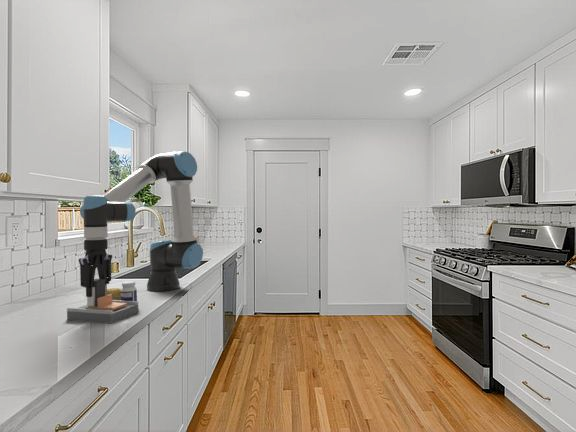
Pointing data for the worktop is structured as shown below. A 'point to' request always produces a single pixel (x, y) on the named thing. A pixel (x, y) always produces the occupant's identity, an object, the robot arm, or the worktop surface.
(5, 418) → the worktop surface
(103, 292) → the plug
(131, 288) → the pill bottle
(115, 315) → the grey slab
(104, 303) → the shutter
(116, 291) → the potato
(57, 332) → the worktop surface
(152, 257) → the robot arm
